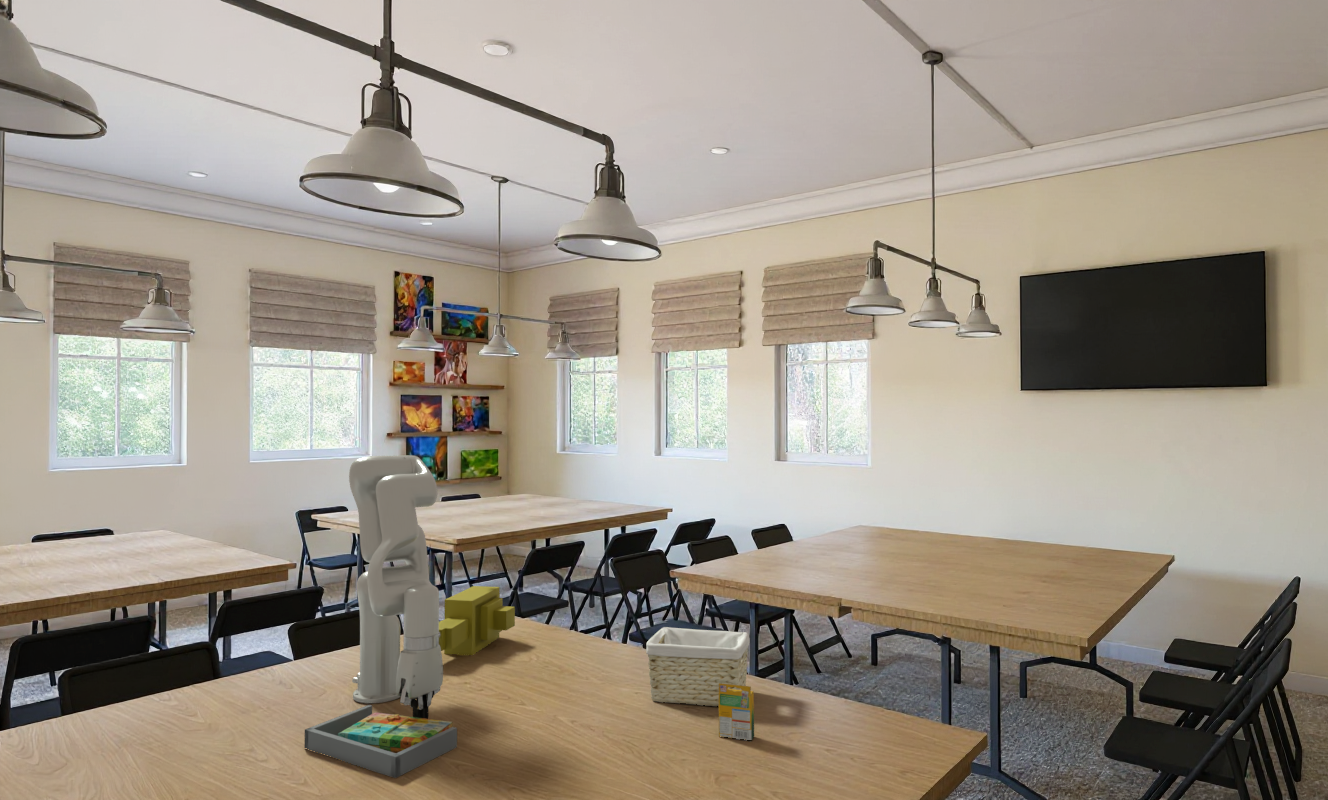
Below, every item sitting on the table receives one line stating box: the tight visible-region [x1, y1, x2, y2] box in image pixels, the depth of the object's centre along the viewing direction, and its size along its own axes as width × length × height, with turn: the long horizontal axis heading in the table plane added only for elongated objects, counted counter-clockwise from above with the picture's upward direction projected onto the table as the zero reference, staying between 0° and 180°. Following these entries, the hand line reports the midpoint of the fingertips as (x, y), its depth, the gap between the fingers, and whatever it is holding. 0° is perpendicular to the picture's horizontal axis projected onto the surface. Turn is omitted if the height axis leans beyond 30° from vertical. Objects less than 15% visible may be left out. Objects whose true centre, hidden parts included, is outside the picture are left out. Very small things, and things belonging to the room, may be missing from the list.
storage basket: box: [645, 626, 751, 707], centre depth 191 cm, size 24×16×15 cm
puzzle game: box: [338, 712, 454, 753], centre depth 162 cm, size 12×5×20 cm
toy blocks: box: [439, 585, 516, 656], centre depth 229 cm, size 35×16×16 cm
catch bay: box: [303, 704, 458, 779], centre depth 160 cm, size 27×16×4 cm, turn 60°
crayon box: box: [718, 683, 755, 741], centre depth 165 cm, size 7×3×12 cm, turn 71°
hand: (420, 724), depth 170 cm, fingers closed
